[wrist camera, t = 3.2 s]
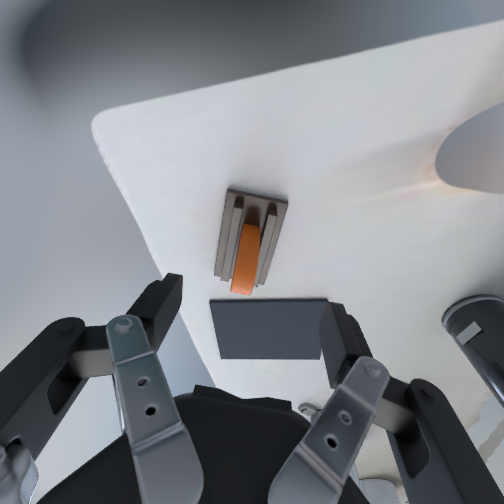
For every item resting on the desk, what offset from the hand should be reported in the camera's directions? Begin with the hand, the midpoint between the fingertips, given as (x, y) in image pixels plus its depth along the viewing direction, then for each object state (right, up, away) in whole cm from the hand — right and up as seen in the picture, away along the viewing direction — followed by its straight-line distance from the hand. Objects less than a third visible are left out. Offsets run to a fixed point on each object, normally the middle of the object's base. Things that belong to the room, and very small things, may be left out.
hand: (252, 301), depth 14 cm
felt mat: (+3, -12, +34) cm, 36 cm away
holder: (-1, +4, +23) cm, 24 cm away
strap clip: (+15, -37, +50) cm, 64 cm away
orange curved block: (-1, +4, +22) cm, 23 cm away
